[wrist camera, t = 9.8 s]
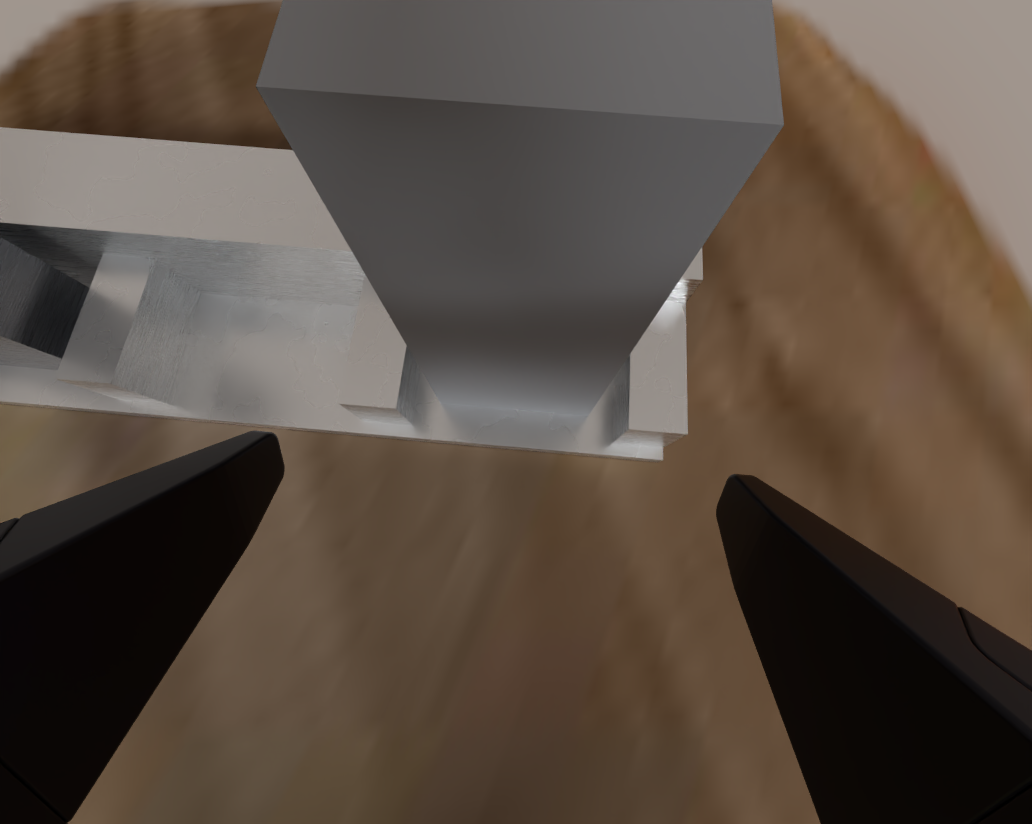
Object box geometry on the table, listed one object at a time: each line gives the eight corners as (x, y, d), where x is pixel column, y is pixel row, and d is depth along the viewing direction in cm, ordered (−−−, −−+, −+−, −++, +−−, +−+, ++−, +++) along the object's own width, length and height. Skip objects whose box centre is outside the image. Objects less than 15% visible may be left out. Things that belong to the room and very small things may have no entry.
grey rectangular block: (588, 415, 17) (784, 124, 5) (440, 403, 17) (256, 86, 5) (591, 340, 18) (764, -72, 6) (450, 329, 18) (314, -103, 6)
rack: (658, 462, 18) (1092, 265, 4) (-108, 394, 18) (-1757, 38, 5) (658, 257, 20) (938, -260, 7) (-15, 203, 21) (-950, -372, 7)
